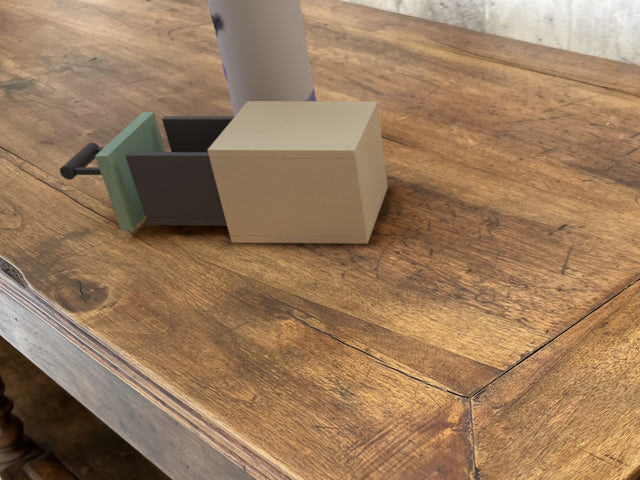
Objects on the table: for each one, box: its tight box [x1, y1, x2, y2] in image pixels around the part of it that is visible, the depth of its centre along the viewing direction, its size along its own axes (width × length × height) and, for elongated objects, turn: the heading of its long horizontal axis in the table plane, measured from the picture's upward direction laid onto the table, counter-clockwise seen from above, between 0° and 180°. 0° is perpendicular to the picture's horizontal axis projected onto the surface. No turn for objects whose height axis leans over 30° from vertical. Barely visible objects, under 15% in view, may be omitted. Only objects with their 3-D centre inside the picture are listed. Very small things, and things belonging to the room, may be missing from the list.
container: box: [207, 0, 317, 116], centre depth 94 cm, size 10×10×20 cm
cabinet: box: [208, 100, 388, 245], centre depth 80 cm, size 14×13×10 cm
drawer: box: [59, 111, 235, 232], centre depth 81 cm, size 18×11×8 cm, turn 88°
